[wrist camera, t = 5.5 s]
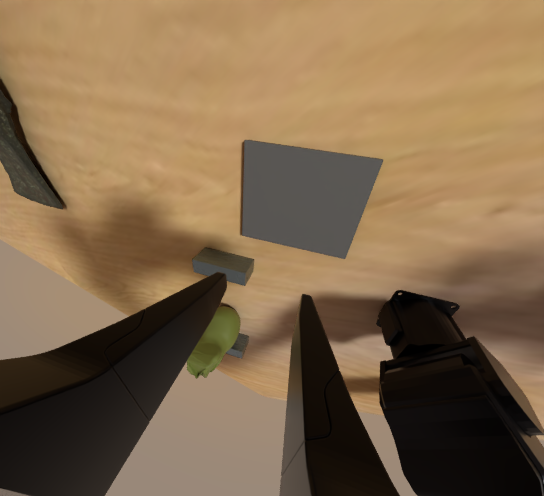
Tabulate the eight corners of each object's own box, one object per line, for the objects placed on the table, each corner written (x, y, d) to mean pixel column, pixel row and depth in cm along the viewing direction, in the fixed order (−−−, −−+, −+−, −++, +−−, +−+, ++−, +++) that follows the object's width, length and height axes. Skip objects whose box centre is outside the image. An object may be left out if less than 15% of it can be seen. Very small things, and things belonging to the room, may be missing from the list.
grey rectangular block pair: (254, 259, 25) (245, 273, 23) (248, 342, 35) (241, 358, 33) (205, 247, 26) (192, 259, 24) (213, 331, 36) (204, 346, 34)
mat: (381, 159, 16) (383, 160, 16) (344, 256, 22) (345, 259, 21) (247, 139, 18) (244, 139, 18) (243, 233, 23) (242, 235, 23)
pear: (216, 317, 34) (179, 377, 26) (213, 296, 31) (170, 355, 23) (245, 326, 33) (217, 391, 25) (246, 304, 30) (213, 370, 22)
